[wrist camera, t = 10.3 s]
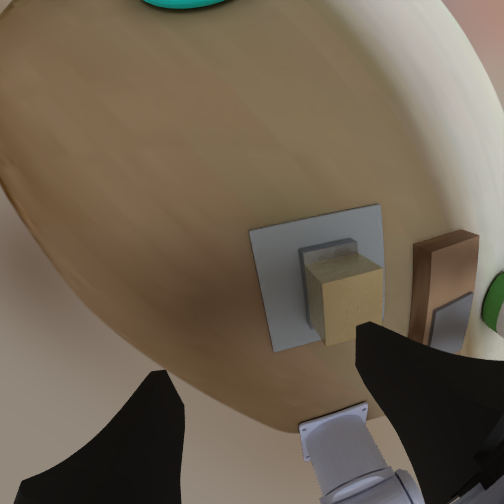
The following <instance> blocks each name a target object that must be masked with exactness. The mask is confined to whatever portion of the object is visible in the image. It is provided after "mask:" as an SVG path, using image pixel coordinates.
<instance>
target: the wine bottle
mask: <svg viewBox="0 0 504 504" xmlns="http://www.w3.org/2000/svg"><path fill="white" fill-rule="evenodd" d="M483 319H484V321H485V323H486V325H487V326H488V327H489V328H491V329H492V330H494V331H495V332H496V333H498V334H499V335H500V336H502V337H503V338H504V273H502V274H500V275H499V276H498V277H497V278H496V279H495V281H494V282H493V284H492V285H491V287H490V289H489V291H488V294H487V296H486V299H485V302H484V307H483Z"/></svg>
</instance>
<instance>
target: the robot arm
mask: <svg viewBox="0 0 504 504" xmlns="http://www.w3.org/2000/svg"><path fill="white" fill-rule="evenodd" d="M355 366H356V368H357V370H358V372H359V374H360V376H361V378H362V380H363V382H364V384H365V386H366V387H367V389H368V390H369V392H370V393H371V395H372V396H373V398H374V399H375V401H376V402H377V403H378V405H379V406H380V408H381V409H382V411H383V412H384V414H385V415H386V416H387V418H388V419H389V421H390V422H391V424H392V425H393V427H394V429H395V430H396V432H397V434H398V436H399V438H400V440H401V442H402V444H403V446H404V448H405V450H406V453H407V455H408V457H409V459H410V462H411V464H412V466H413V469H414V471H415V474H416V477H417V480H418V482H419V485H420V488H421V491H422V494H421V492H420V490H419V488H418V486H417V484H416V483H415V481H414V479H413V478H412V476H411V475H410V474H409V473H408V471H406V470H401V469H398V470H396V471H395V473H394V471H393V470H392V468H391V466H389V467H388V466H387V463H386V462H385V460H384V458H383V456H382V454H381V452H380V451H379V449H378V447H377V445H376V443H375V442H374V440H373V438H372V436H371V434H370V432H369V431H368V429H367V427H366V425H365V423H366V417H367V410H368V404H367V402H363V403H361V404H358V405H356V406H353V407H350V408H347V409H345V410H342V411H339V412H336V413H333V414H330V415H327V416H324V417H321V418H317V419H314V420H311V421H307V422H303V423H301V424H300V425H299V431H300V437H301V444H302V450H303V457H304V461H306V462H308V461H311V462H312V465H313V468H314V471H315V474H316V477H317V480H318V483H319V486H320V489H321V492H322V495H323V497H321V498H320V502H321V504H450V503H451V502H453V501H454V500H456V499H457V498H458V497H460V498H459V499H458V500H456V501H455V502H454V503H452V504H504V361H497V360H485V359H477V358H470V357H465V356H461V355H456V354H452V353H448V352H445V351H441V350H438V349H435V348H433V347H430V346H427V345H424V344H422V343H419V342H417V341H414V340H412V339H409V338H407V337H405V336H402V335H400V334H398V333H396V332H394V331H391V330H389V329H387V328H385V327H383V326H380V325H378V324H376V323H374V322H371V321H369V322H366V323H363V324H360V325H357V326H356V362H355ZM184 413H185V412H184V404H183V402H182V400H181V398H180V397H179V395H178V393H177V391H176V389H175V387H174V385H173V383H172V381H171V379H170V377H169V375H168V373H167V371H166V370H159V371H152V372H150V373H149V375H148V376H147V377H146V378H145V379H144V381H143V382H142V383H141V385H140V386H139V387H138V389H137V390H136V391H135V392H134V393H133V395H132V396H131V397H130V398H129V400H128V401H127V402H126V403H125V405H124V406H123V407H122V408H121V410H120V411H119V412H118V413H117V414H116V415H115V416H114V417H113V419H112V420H111V421H110V422H109V423H108V424H107V426H105V427H104V428H103V429H102V431H100V432H99V433H98V434H97V435H96V436H95V437H94V438H93V439H92V440H91V441H90V442H88V443H87V444H86V445H85V446H84V447H82V448H81V449H80V450H78V451H77V452H75V453H74V454H73V455H71V456H70V457H69V458H67V459H66V460H64V461H63V462H61V463H59V464H58V465H56V466H54V467H52V468H50V469H49V470H47V471H45V472H42V473H40V474H38V475H35V476H33V477H30V478H28V479H25V480H23V481H22V482H21V484H20V487H19V490H18V492H17V495H16V498H15V501H14V504H181V489H180V473H181V462H182V452H183V442H184V432H185V414H184ZM422 495H423V496H422ZM423 498H424V499H423Z"/></svg>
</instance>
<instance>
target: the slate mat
mask: <svg viewBox="0 0 504 504" xmlns="http://www.w3.org/2000/svg"><path fill="white" fill-rule="evenodd" d="M249 235H250V240H251V245H252V250H253V254H254V259H255V264H256V269H257V274H258V278H259V283H260V288H261V293H262V298H263V303H264V307H265V312H266V317H267V322H268V327H269V332H270V336H271V341H272V346H273V350H274V352H278V351H282V350H286V349H289V348H293V347H297V346H301V345H304V344H308V343H312V342H315V341H318V340H321V338H320V336H319V335H318V333H317V331H316V330H315V329H313V330H311V329H310V327H309V325H308V324H307V321H306V311H305V302H304V293H303V284H302V275H301V267H300V259H299V252H298V248H303V247H307V246H312V245H317V244H322V243H327V242H331V241H336V240H341V239H346V238H352V239H353V240H355V241H357V244H358V253H360V254H361V255H363V256H365V257H366V258H368V259H369V260H371V261H373V262H374V263H376V264H378V265H379V266H381V267H382V268H383V307H382V319H384V287H385V282H384V244H383V228H382V215H381V205H380V204H374V205H369V206H364V207H358V208H353V209H348V210H343V211H338V212H333V213H328V214H323V215H318V216H313V217H308V218H303V219H299V220H294V221H289V222H284V223H280V224H275V225H270V226H266V227H261V228H256V229H252V230H249Z"/></svg>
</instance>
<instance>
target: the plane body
mask: <svg viewBox="0 0 504 504" xmlns="http://www.w3.org/2000/svg"><path fill="white" fill-rule="evenodd" d="M413 246H414V261H413V290H412V305H411V317H410V326H409V335H408V338H409V339H412V340H414V341H417V342H419V343H422V344H424V345H427V346H430V347H433V348H435V349H438V350H441V351H445V352H448V353H452V354H456V355H460V352H461V349H462V345H463V341H464V337H465V333H466V329H467V325H468V320H469V315H470V310H471V305H472V300H473V293H474V287H475V280H476V271H477V262H478V250H479V235H477V234H474V233H471V232H468V231H465V230H459V231H456V232H453V233H449V234H446V235H443V236H440V237H436V238H433V239H430V240H426V241H423V242H419V243H416V244H413Z"/></svg>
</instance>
